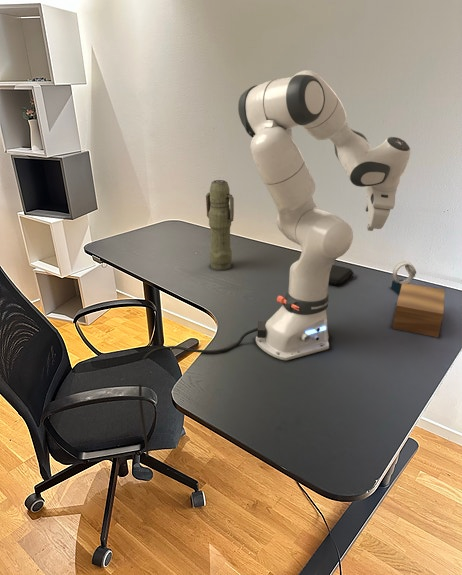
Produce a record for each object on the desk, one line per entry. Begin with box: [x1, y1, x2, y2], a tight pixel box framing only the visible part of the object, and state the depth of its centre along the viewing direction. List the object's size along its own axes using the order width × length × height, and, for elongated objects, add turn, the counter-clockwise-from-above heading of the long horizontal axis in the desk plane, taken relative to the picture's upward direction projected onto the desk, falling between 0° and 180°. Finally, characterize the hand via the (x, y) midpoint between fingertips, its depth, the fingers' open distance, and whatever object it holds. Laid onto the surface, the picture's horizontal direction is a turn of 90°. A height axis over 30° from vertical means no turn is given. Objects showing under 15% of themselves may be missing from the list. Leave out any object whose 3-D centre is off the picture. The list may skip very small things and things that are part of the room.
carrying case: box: [328, 264, 355, 287], centre depth 169 cm, size 11×3×15 cm
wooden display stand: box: [392, 283, 446, 338], centre depth 139 cm, size 18×13×8 cm
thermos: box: [205, 179, 235, 271], centre depth 174 cm, size 9×12×35 cm
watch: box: [390, 261, 417, 295], centre depth 157 cm, size 6×8×11 cm
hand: (368, 219), depth 148 cm, fingers open, 8 cm apart
